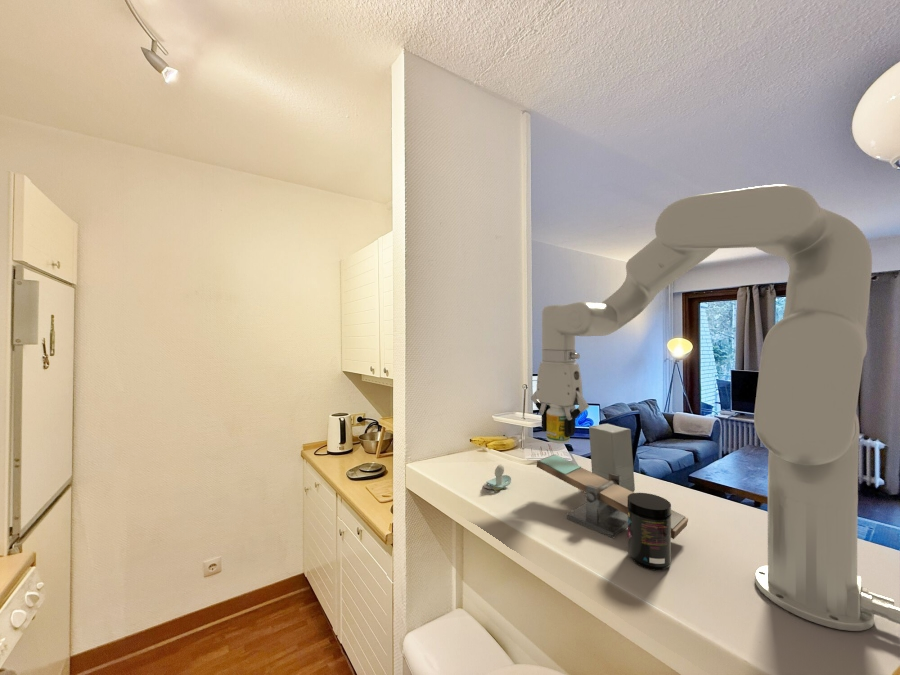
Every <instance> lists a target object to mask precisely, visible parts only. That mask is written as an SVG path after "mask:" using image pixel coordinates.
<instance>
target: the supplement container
mask: <svg viewBox="0 0 900 675" xmlns="http://www.w3.org/2000/svg"><path fill="white" fill-rule="evenodd" d="M627 507H628V527H627V553H628V556H629V558H630V560H632V562H634V563H635V564H636V565H638V566H640V567H641V568H644V569H647V570H651V571H664V570H666V569H669V568H670V566H671V565H672V538H671V510H672V504H671V502H670V501H669V500H667V499H666V498H664V497H662V496H660V495H657V494H651V493H647V492H634V493H632V494H630V495H628V504H627Z"/></svg>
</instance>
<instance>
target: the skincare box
mask: <svg viewBox="0 0 900 675" xmlns="http://www.w3.org/2000/svg"><path fill="white" fill-rule="evenodd" d="M588 429H589V430H588V432H589V434H588V435H589V444H590V446H589V448H590V459H591V460H590V463H591V472H592V473H594V474H596V475H598V476H600V477H602V478H604V479H606V480H609V473H613V474H617V475H620V476H621V487H623V488H625V489H627V490H630V491H632V492H634V493H635V490H636V487H635V474H634V472H635V470H634V458H633V445H632V432H631V431H632V430H631V429H630V428H626V427H621V426H617V425H615V424H611V423H602V424H596V425H591V426H589V427H588Z"/></svg>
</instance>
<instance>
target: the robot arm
mask: <svg viewBox="0 0 900 675" xmlns="http://www.w3.org/2000/svg"><path fill="white" fill-rule="evenodd" d="M654 226H655V227H654V232H655V236H656V237H654V238H653V239H652V240H651V241H650V242H649V243H647V244H646V245H645V246H644V247H643V248H642V249H640V250H639V251H637V253H635V254H634V255H632V257H630V258H629V259H628V260H627V262H626V263H625V270H626V271H625V272H626V277H625V279H624V282H623V283H622V284H621V286H620V287H619V288H618V289H617V290H616V291H614V293H612V294H611V295H610V296H608V297H607V298H605V300H603V301H602V302H590V301H589V302H588V301H579V302H573V303H568V304H550V305H546V306H544V307H543V308H542V311H541V312H542V313H541V362H539V366H538V370H537V378H536V390H535V392H533V394H532V395H531V396H530V400H531V401H532V403H533V404H535V407H536V408H537V410H538V412H539V415H541V431H542V432H544V433H545V432H546V433H547V410H548V409H549V408H551V407H550V405H549V404H555V405H558V406H562V407H564V410H565V413H566V417H567V419H566V420H565V421H564V435H565V437H572V436H575V433H576V419H577V418H578V417H579V416H580V415H582V414H583V412H585V411H586V410H588V409H589V407H590V406H589V404H588V402H587V401H586V400H585V398H584V397H583V384H582V383H583V382H582V381H583V380H582V375H581V369H580V366H579V363H576V360H579V359H580V358H581V356H580V353H577V352H576V337H603V336H604V337H605V336H607V335H611V334H613V333H615V332H617V331H618V330H619V329H621V328H622V327H624V326H626V325H627V324H628V323H630V322H631V321H633V320H634V319H635V318H636V317H638V316H639V315H640V314H641V313H643V311H644V310H646V308H647V307H648V306H649V305H650V304H651V303H652V301H654V299H655V297H656V296H657V295H658V294H659V293H660V292H661V291H662V290H664V289H666V288H667V287H668V286H670V285H671V284H673V283H674V282H675V281H677V279H679V278H680V277H682V276H683V275H684V274H686V273H687V272H688V271H690V270H692V269H693V268H694V267H696V266H698V265H699V264H700V263H701V262H703V261H704V260H705V259H707V258H708V257H710V256H711V255H712V254H714V253H715V252H716V251H718V250H719V249H740V248H741V249H743V248H747V249H749V248H756V249H758V250H759V251H762V252H764V253H766V254H768V255H771V256H772V255H773V256H776V257H779V258H782V259H784V260H785V262H787V264H788V266H789V267H788V268H789V272H788V276H787V277H788V278H787V283H786V290H785V302H784V309H783V310H784V311H783V317H782V319H780V320H779V321H777V322H776V323H775V324H773V325H772V327H771V328H770V329H769V330H768V332H767V334H766V335H765V337H764V341H763V343H762V347H761V353H760V361H759V369H758V377H757V386H756V395H755V396H756V397H755V403H754V412H753V424H754V429H755V432H756V434H757V437H758V439H759V440H760V442H761V443H762V445H763V446H764V447H765V448H766V449H767V450H768V456H767V457H768V458H767V565H763V566H760V567H758V568H757V569H756V570H755V572H754V582H755V584H756V586H757V588H758V590H759V591H760V592H761V593H762V594H763V595H764V596H765V597H766V598H768V599H769V600H770V601H772V603H774V604H776V605H777V606H779V607H781V608H782V609H784V610H785V611H787V612H789V613H791V614H793V615H795V616H798V617H800V618H801V619H803V620H805V621H806V620H807V621H809V622H812V623H814V624H816V625H817V624H818V625H821V626H824V627H827V628H831V629H834V630H835V629H837V630H841V631H849V632H862V631H866V630H869V629H870V628H872V627H873V626H874V623H875V615H876V616H879V617H880V618H884V619H886V620H888V621H890V622H892V623H895V624H898V625H900V607H898V606H895V599H894V598H891V597H888V596H884V595H882V594H878V593H874V592H872V591H869V590H868V588H866V587H863V586H862V577H861V575H858V503H859V492H858V491H859V490H858V488H859V480H858V479H859V451H860V450H859V449H860V448H859V447H860V421H859V417H858V414H857V406H858V401H859V395H860V394H859V393H860V386H861V380H862V371H863V364H864V359H865V357H866V355H867V351H868V340H867V321H868V313H869V304H870V290H871V280H872V270H873V269H872V268H873V257H872V256H873V255H872V248H871V245H870V244H869V241H868V239H867V237H866V235H865V233H864V232H863V231H862V230H861V229H860V228H859V227H858V226H857V225H856V224H855V223H854V222H852V221H851V220H850V219H848V218H846V217H845V216H843V215H840V214H839V213H836V212H833V211H830V210H828V209H825V208H823V207H821V206H820V205H819V203H818V202H817V201H816V199H815V198H814V196H813V195H811V193H809V191H807V190H806V189H803V188H802V187H799V186H795V185H791V184H790V185H789V184H788V185H787V184H771V185H762V186H761V185H760V186H754V187H748V188H741V189H733V190H725V191H718V192H712V193H710V192H709V193H704V194H703V193H702V194H697V195H691V196H687V197H684V198H680V199H678V200H675V201H674V202H672V203H670V204H669V205H668V206H666V207H665V208H664V209H663V210H662V211H661V213H660V214H659V216H658V217H657V219H656V222H655V225H654ZM576 406H578V407H576Z"/></svg>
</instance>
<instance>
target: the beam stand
mask: <svg viewBox="0 0 900 675" xmlns="http://www.w3.org/2000/svg"><path fill="white" fill-rule="evenodd" d="M610 480H615V481H616V482H617V485H619V486H621V476H620V475H617V474H613V473H609V481H610ZM566 520H569V521H571V522H573V523H575V524H578V525H581V526H582V527H585V528H588V529H590V530H593V531H595V532H597V533H600V534H602V535H605V536H607V537H609V538H612V539H613V538H615V537H616V536H618V535H619V534H620V533H621V532H623V531H624V530H625V529H626V528H628V515H627V514H625V513H623V512H621V511H619V510H618V509H616V508H614V507H612V506H610V505H608V504H606V503H604V502H602V501H600V500H599V488H597V487H594V486H591V485H586V493H585V503H583V504H581V505H580V506H578V507H577V508H575V509H573V510H572V511H570V512H569V513H566Z"/></svg>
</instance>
